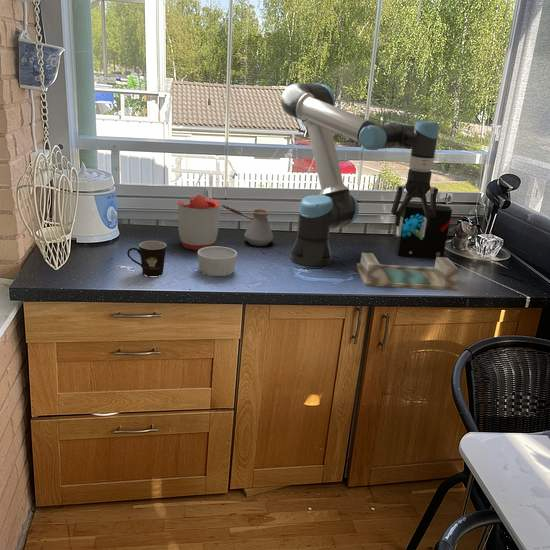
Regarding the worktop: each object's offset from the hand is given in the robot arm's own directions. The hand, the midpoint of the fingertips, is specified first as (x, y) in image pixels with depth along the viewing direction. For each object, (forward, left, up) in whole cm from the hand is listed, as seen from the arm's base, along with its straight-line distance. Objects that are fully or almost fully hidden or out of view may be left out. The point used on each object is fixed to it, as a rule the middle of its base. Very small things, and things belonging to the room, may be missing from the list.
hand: (409, 235), depth 196 cm
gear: (0, 0, -1) cm, 1 cm away
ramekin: (-66, -4, -16) cm, 68 cm away
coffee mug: (-88, -9, -16) cm, 89 cm away
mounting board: (0, -2, -15) cm, 16 cm away
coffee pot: (-56, +29, -16) cm, 65 cm away
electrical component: (+13, +26, -16) cm, 33 cm away
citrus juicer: (-75, +22, -16) cm, 79 cm away
